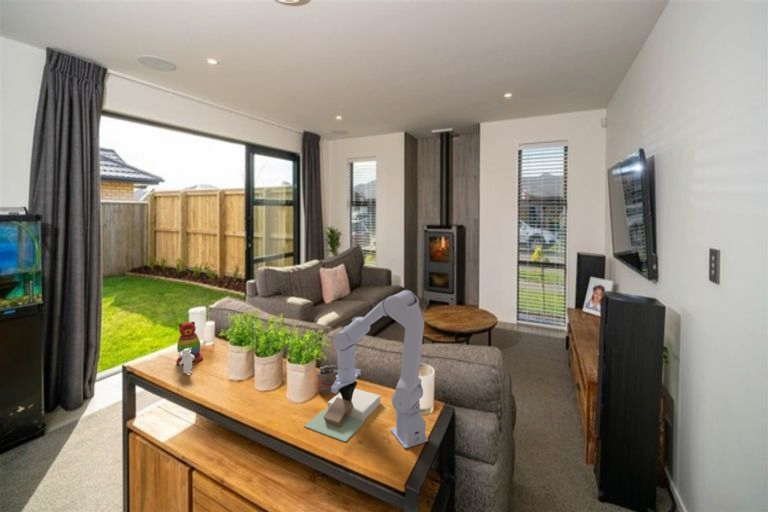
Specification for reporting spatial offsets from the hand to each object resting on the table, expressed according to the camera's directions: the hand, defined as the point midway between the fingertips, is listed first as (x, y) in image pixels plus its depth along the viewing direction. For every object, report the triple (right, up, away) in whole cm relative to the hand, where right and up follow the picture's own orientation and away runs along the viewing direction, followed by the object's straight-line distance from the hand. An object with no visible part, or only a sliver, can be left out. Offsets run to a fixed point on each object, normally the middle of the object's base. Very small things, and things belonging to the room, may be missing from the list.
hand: (347, 403), depth 115 cm
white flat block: (+2, -3, +4) cm, 6 cm away
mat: (-3, -4, -6) cm, 8 cm away
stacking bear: (-79, +1, +45) cm, 90 cm away
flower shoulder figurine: (-71, -1, +30) cm, 77 cm away
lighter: (-9, -2, +15) cm, 18 cm away
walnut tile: (-2, -2, -4) cm, 5 cm away
